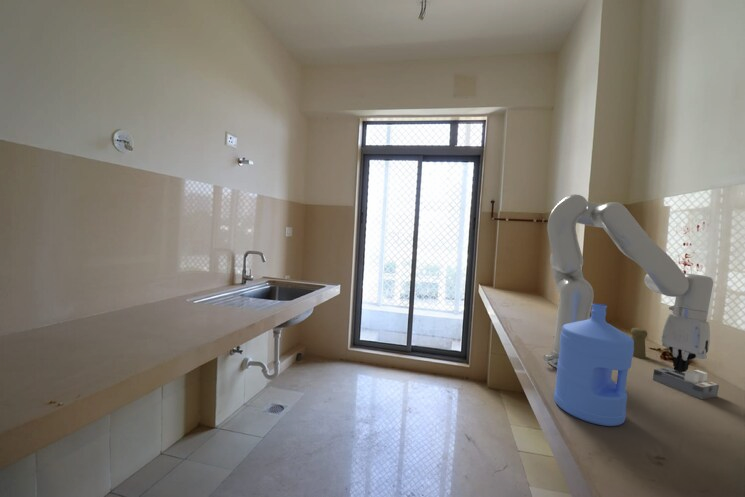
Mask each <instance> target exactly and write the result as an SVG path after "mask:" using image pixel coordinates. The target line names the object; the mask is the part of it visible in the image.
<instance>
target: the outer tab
mask: <svg viewBox="0 0 745 497" xmlns="http://www.w3.org/2000/svg"><path fill="white" fill-rule="evenodd" d="M693 372H694V373H696V374H699V380H698V381H700V382H702V383H704V382H707V381H708V376H709V375H708V374H709V373H708V372H706V371H702V370H700V369H695V370H693Z"/></svg>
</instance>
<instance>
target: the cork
mask: <svg viewBox="0 0 745 497" xmlns="http://www.w3.org/2000/svg"><path fill="white" fill-rule="evenodd" d="M630 334H631V336H630V337H631V338H632V339H633V340H634V353H633V357H634V358H638V359H646V358H647V354H646V338H647V337H648V331H647V330H646V329H643V328H640V327H632V328H631V330H630ZM633 357H632V358H633Z"/></svg>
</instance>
